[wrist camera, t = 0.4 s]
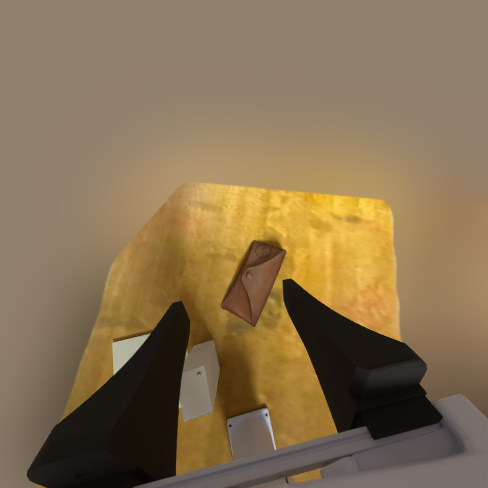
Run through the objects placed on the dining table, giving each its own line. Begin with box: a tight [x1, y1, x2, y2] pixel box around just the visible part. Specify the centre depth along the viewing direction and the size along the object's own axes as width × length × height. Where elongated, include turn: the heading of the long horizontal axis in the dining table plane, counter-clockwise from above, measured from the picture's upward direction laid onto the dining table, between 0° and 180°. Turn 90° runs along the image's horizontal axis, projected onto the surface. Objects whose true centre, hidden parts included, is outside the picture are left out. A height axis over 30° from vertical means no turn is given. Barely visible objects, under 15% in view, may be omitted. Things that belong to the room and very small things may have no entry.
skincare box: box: [180, 340, 220, 422], centre depth 30 cm, size 6×4×12 cm
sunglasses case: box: [221, 240, 286, 327], centre depth 38 cm, size 18×7×7 cm, turn 155°
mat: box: [113, 333, 188, 408], centre depth 34 cm, size 14×14×1 cm
